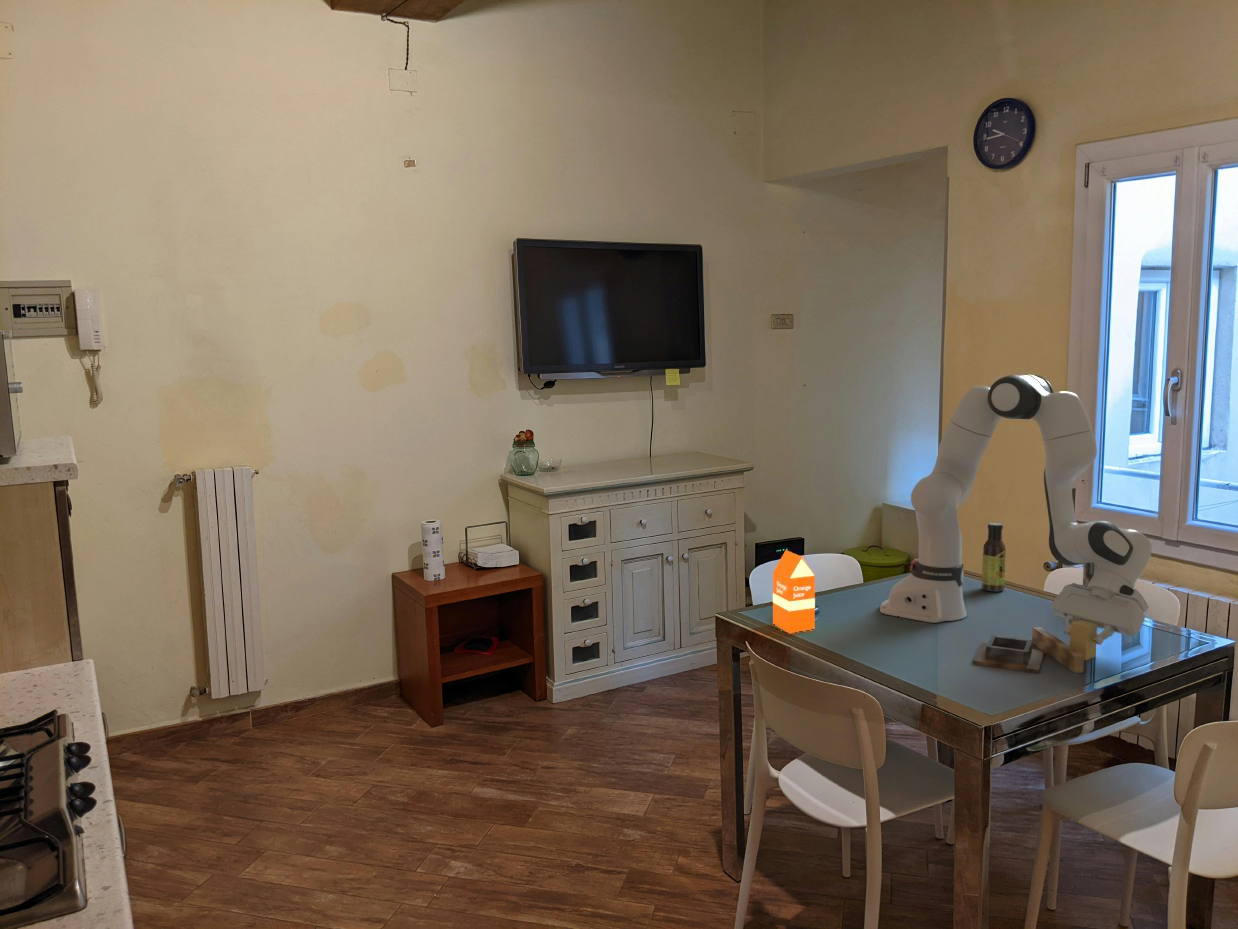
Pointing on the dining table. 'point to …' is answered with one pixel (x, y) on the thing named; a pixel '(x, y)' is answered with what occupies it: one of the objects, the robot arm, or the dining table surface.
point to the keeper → (1009, 654)
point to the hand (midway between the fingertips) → (1081, 638)
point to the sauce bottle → (994, 559)
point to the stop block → (1083, 638)
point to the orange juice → (793, 594)
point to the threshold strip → (1058, 649)
